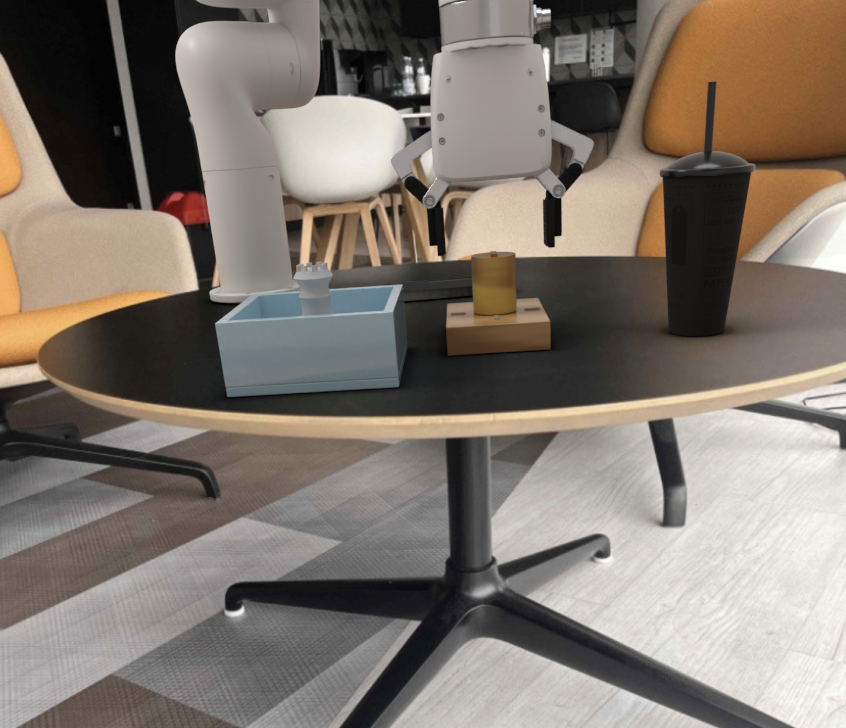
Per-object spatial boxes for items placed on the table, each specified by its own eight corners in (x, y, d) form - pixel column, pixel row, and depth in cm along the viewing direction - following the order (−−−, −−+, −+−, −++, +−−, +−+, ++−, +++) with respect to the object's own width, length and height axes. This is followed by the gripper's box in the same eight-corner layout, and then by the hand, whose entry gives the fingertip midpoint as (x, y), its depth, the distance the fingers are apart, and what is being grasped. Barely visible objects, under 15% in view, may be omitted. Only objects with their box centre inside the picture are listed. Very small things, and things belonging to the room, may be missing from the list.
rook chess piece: (323, 353, 77) (312, 259, 74) (360, 358, 74) (350, 261, 71) (285, 365, 74) (272, 267, 70) (322, 370, 71) (310, 269, 68)
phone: (511, 282, 104) (385, 292, 103) (511, 292, 104) (386, 302, 103) (500, 273, 111) (382, 283, 110) (500, 283, 111) (383, 292, 110)
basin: (261, 358, 81) (252, 294, 78) (407, 349, 80) (402, 284, 78) (227, 397, 69) (214, 323, 66) (399, 387, 68) (392, 311, 65)
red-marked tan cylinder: (473, 308, 82) (470, 250, 80) (515, 305, 82) (514, 247, 80) (473, 316, 79) (471, 255, 77) (518, 313, 79) (516, 252, 76)
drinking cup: (746, 338, 75) (769, 75, 66) (654, 341, 76) (665, 83, 68) (736, 321, 81) (755, 79, 73) (651, 323, 83) (661, 87, 75)
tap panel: (448, 328, 87) (446, 301, 86) (538, 323, 87) (538, 295, 86) (447, 356, 76) (445, 325, 75) (550, 349, 76) (550, 318, 75)
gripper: (586, 27, 74) (586, 239, 81) (384, 45, 75) (401, 253, 82) (600, 14, 67) (599, 247, 74) (377, 35, 68) (396, 262, 75)
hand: (495, 250), depth 78 cm, fingers open, 9 cm apart
